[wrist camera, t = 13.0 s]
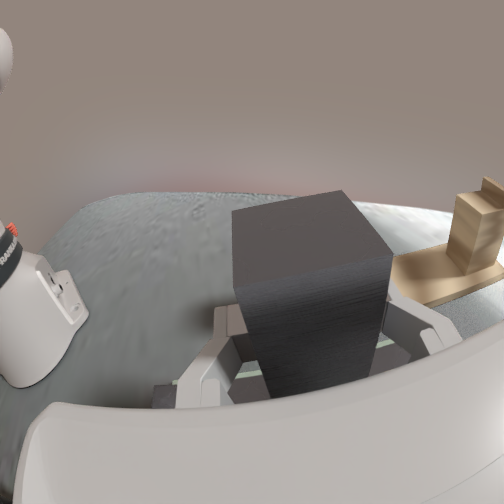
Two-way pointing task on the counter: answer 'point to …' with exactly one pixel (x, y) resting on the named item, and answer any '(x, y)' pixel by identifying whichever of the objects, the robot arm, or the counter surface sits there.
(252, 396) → the grey inverted t block
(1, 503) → the supplement bottle
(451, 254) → the stand
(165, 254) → the counter surface
